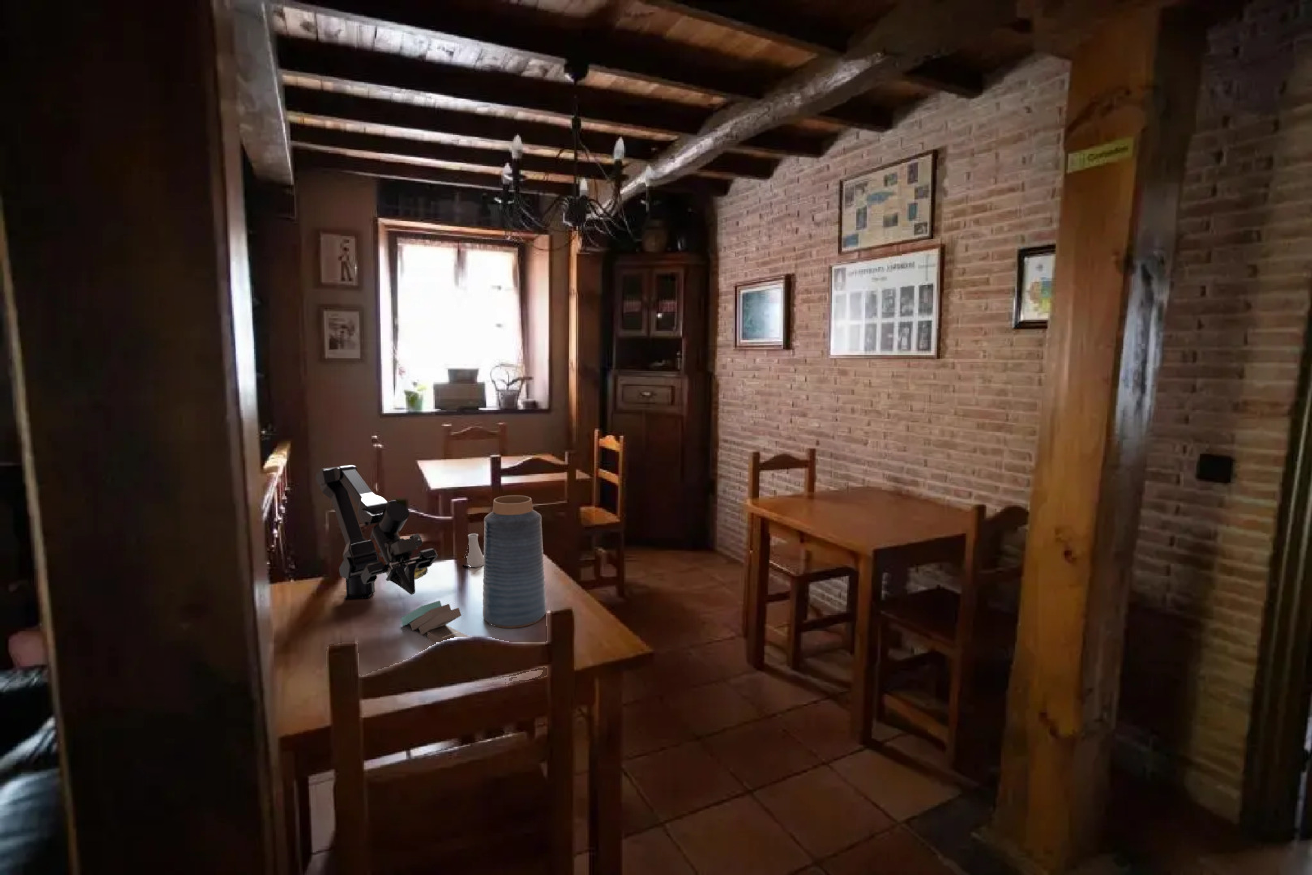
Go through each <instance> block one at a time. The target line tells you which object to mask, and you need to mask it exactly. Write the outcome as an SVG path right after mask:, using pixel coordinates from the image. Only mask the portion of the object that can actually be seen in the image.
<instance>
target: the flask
mask: <svg viewBox="0 0 1312 875" xmlns="http://www.w3.org/2000/svg"><path fill="white" fill-rule="evenodd" d="M478 537H479V534H478V533H470V534H468V535H467V538H468V545H469V553H468V556H466V558H467V563H468V565H470V566H471V567H475V569H476V568H479V567H484V554H483V553H482V551H481V548H480V545H479V541H478V540H479V539H478ZM468 545H467V546H468ZM471 567H470V568H471Z"/></svg>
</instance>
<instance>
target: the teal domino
mask: <svg viewBox="0 0 1312 875" xmlns="http://www.w3.org/2000/svg"><path fill="white" fill-rule="evenodd" d="M441 606H443V605H442V603H441V600H436V601H434V602H431V603H428V604H424V605H421V606H419V607H418V608H416V609H415V610H412V611H411V612H409V613H408V614H406V615H404V616H402V617H401V618H400V621H401V624H402V627H405V626H408V625H410V623H411V622H412V621H414V620H416V619H417V618H419V617H420V616H422V615H423V614H425V613H426V612H428V611H429V610H432V609H435V608H438V607H441Z"/></svg>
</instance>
